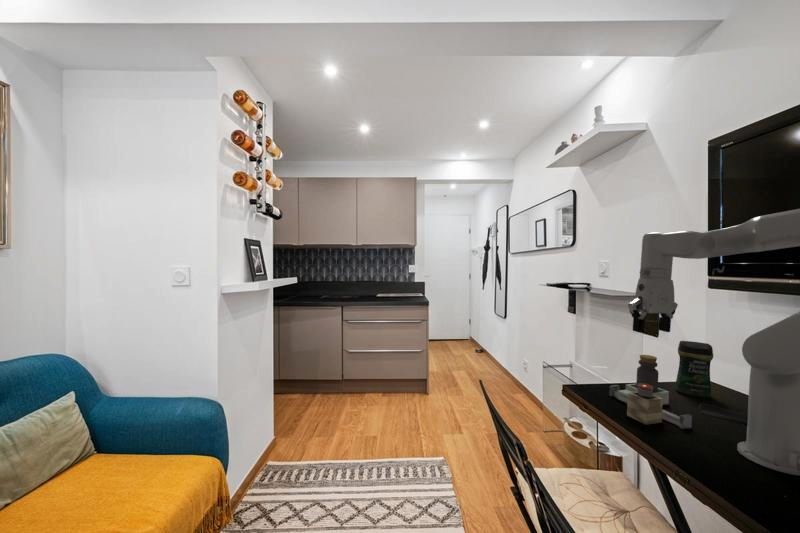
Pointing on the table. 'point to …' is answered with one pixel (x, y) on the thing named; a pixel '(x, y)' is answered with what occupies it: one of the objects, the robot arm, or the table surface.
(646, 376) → the bottle
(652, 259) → the robot arm
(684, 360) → the coffee jar
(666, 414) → the rail
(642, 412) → the wooden box
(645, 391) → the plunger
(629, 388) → the carriage
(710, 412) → the phone
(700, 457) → the table surface
